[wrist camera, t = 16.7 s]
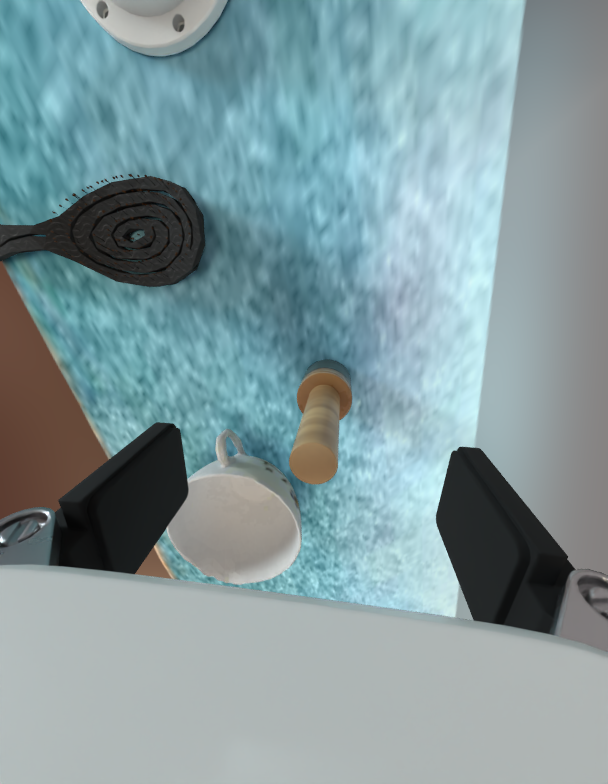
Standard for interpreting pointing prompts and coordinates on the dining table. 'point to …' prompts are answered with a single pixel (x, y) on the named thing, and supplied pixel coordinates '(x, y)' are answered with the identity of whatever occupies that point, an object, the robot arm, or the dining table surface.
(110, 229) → the hairbrush
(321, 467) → the dish brush
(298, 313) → the dining table surface
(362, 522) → the dining table surface
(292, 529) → the teacup
